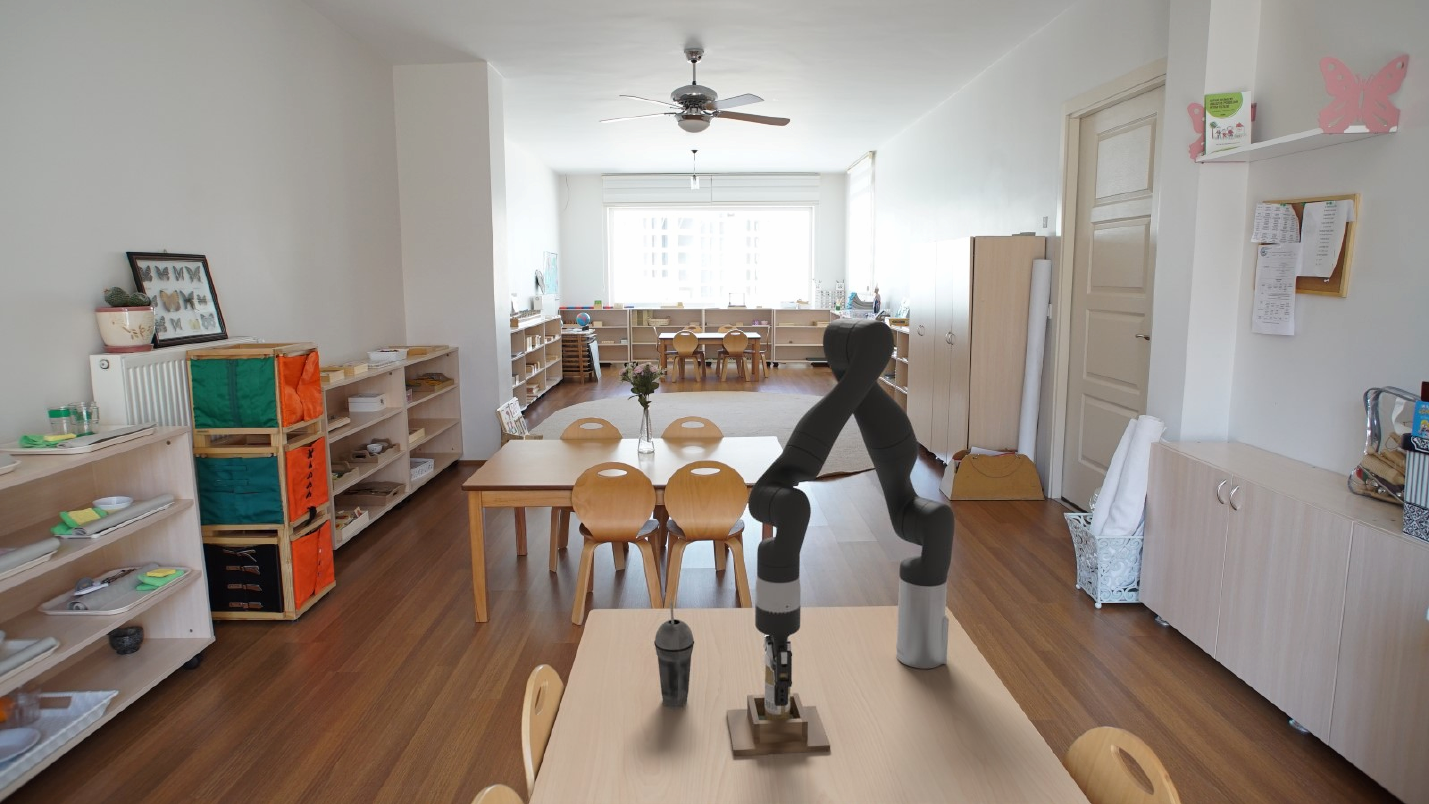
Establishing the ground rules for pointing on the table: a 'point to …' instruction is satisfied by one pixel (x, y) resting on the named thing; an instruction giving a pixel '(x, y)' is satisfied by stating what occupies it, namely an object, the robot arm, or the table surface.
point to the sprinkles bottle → (770, 708)
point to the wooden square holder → (776, 729)
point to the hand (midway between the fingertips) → (776, 691)
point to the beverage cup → (674, 660)
